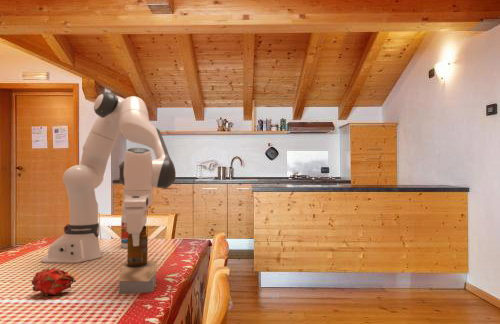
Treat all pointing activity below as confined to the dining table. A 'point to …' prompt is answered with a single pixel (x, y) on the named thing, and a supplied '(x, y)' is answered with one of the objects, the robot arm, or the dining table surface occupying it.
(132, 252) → the condiment
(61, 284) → the dragon fruit
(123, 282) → the tower block lower
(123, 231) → the fruit juice
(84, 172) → the robot arm
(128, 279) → the tower block upper
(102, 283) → the dining table surface
